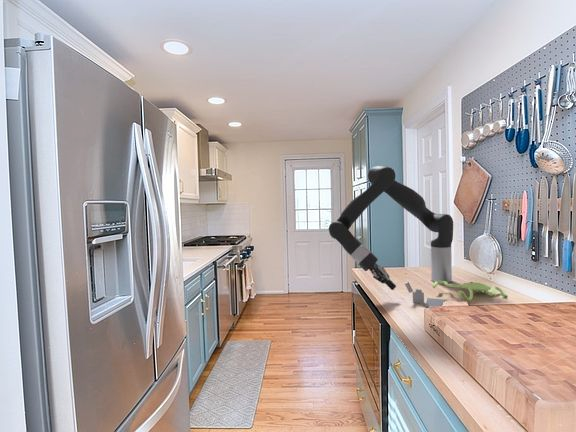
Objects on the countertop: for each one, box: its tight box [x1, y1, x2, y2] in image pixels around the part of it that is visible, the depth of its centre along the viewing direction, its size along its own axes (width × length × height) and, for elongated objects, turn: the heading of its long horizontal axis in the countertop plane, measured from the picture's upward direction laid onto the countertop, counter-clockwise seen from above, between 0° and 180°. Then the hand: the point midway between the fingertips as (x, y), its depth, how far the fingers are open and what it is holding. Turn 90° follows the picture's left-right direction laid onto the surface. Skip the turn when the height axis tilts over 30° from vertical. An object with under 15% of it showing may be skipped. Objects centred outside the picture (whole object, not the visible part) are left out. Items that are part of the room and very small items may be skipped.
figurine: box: [432, 281, 507, 302], centre depth 142 cm, size 18×27×6 cm
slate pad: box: [425, 297, 448, 308], centre depth 129 cm, size 11×15×1 cm
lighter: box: [404, 281, 425, 304], centre depth 134 cm, size 7×2×8 cm, turn 64°
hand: (394, 288), depth 137 cm, fingers closed
